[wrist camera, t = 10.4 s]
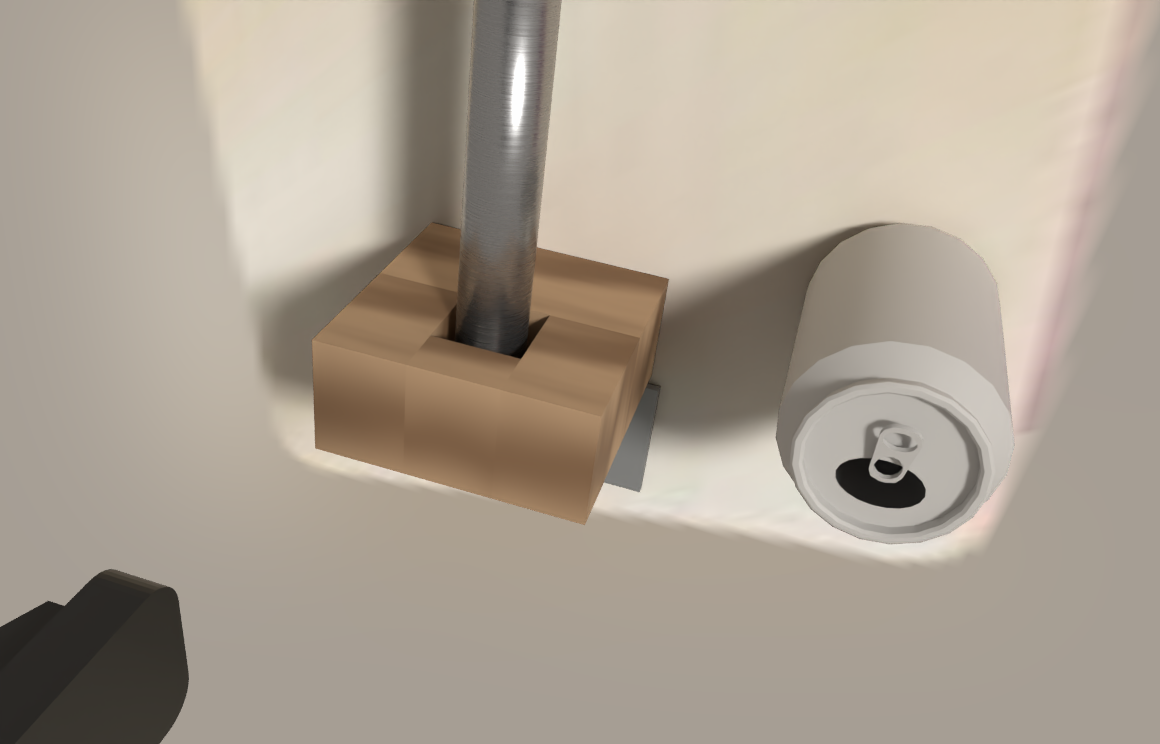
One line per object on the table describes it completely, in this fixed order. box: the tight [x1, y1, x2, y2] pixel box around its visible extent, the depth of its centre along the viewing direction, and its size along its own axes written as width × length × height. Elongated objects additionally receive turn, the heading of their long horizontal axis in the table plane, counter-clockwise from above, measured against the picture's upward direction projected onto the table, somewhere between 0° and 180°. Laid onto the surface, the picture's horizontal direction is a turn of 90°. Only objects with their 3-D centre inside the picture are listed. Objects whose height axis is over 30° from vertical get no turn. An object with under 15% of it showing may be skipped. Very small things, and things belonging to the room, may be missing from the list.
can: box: [776, 223, 1015, 544], centre depth 38 cm, size 8×8×12 cm
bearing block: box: [312, 223, 669, 525], centre depth 43 cm, size 5×11×11 cm, turn 83°
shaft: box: [455, 0, 562, 359], centre depth 37 cm, size 20×4×4 cm, turn 173°
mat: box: [604, 384, 660, 492], centre depth 51 cm, size 6×12×1 cm, turn 83°
